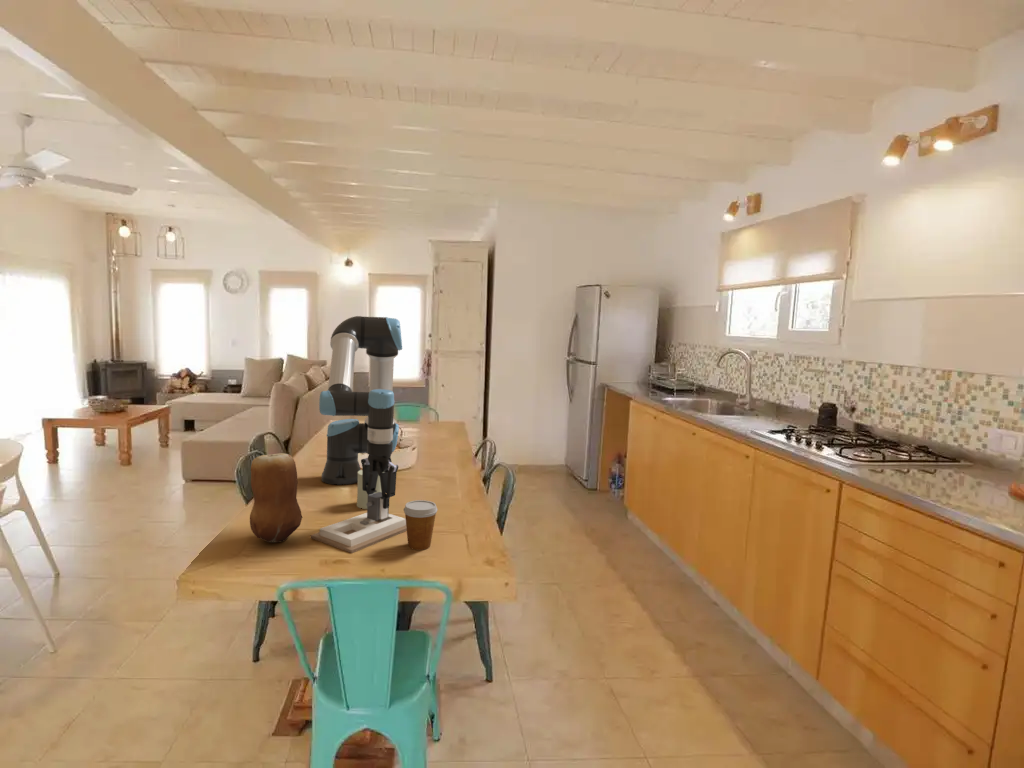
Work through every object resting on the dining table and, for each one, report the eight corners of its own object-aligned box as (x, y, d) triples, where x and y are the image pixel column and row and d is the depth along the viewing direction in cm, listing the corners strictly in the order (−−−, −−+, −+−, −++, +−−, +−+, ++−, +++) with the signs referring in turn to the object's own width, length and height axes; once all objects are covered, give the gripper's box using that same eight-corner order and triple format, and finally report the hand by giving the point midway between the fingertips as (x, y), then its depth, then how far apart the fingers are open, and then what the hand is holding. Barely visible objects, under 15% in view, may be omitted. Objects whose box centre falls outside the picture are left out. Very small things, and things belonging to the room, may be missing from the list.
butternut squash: (263, 530, 170) (263, 447, 167) (308, 533, 169) (309, 449, 167) (239, 549, 156) (239, 458, 153) (288, 552, 156) (289, 461, 153)
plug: (362, 519, 174) (363, 496, 173) (379, 513, 180) (379, 491, 179) (372, 522, 172) (372, 499, 171) (388, 516, 177) (389, 494, 177)
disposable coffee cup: (404, 539, 169) (405, 499, 168) (436, 539, 170) (438, 500, 168) (400, 552, 160) (401, 510, 158) (435, 552, 160) (436, 511, 159)
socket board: (310, 537, 166) (310, 526, 166) (374, 515, 187) (374, 505, 187) (351, 553, 157) (352, 541, 157) (414, 527, 178) (414, 517, 178)
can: (389, 503, 200) (390, 469, 199) (374, 511, 191) (375, 475, 190) (366, 499, 203) (367, 465, 202) (351, 506, 194) (351, 472, 193)
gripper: (350, 438, 175) (349, 513, 178) (392, 447, 166) (389, 526, 169) (369, 435, 181) (367, 507, 184) (409, 443, 172) (407, 519, 175)
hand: (377, 516), depth 176 cm, fingers closed on plug, 4 cm apart
